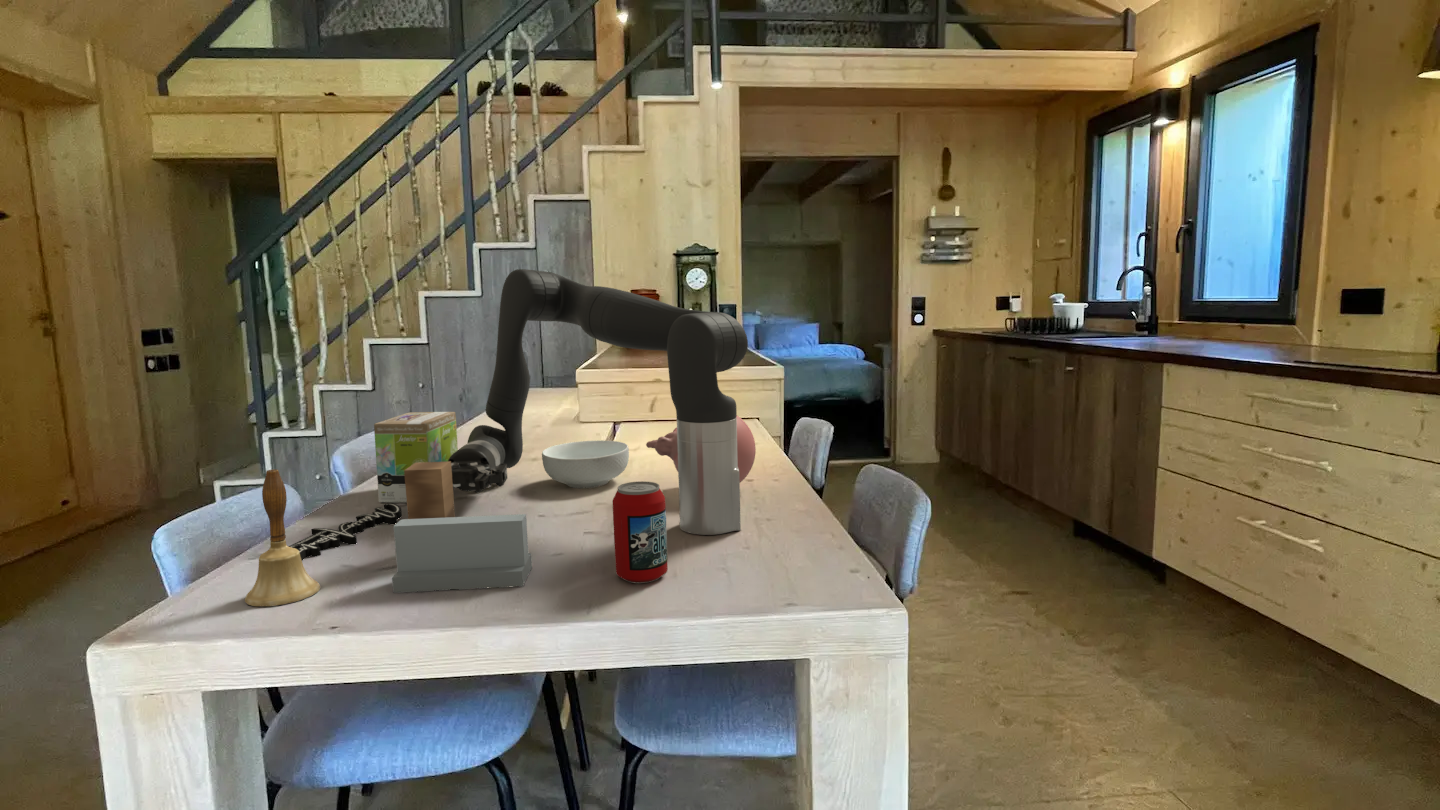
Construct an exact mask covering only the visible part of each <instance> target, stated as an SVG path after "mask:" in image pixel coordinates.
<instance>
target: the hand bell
mask: <svg viewBox="0 0 1440 810" xmlns="http://www.w3.org/2000/svg"><path fill="white" fill-rule="evenodd" d="M261 493H262V496H261V497H262V504H263V508H264V510H265V513H266V516H267V517H268V520H269V536H270V542H269V543H270V544H269V545H270V547H269V549H268V550H266V551H264V552H263V553H261V554H260V555H259V557H258V569H257V570H258V572H257V577H256V579H255V583H254V585H253V586H252V588H251V590H249V591H248V592H247V594H246V596H245V598H244V602H245V603H246V604H247V605H249V606H252V607H276V606H282V605H288V604H291V603H296V602H300V601H302V600H305V599H307V598H310V597H312V596H313V595H315V594H317V593H318V592H319V591H320V590H321V585H320V583H319V582H318V581H317V580H316V579H313V578H312V577H311V576H310V575H309V573H308V572H307V571H306V568H305V566H304V563H303V560H301V557H300V552H299V550H297V549H295V548H291V547H289V546H290V545H287V541H286V540H287V538H286V537H287V535H286V529H285V528H286V527H285V522H284V521H285V520H284V519H285V518H284V517H285V513H286V509H287V489H286V486H285V483H284V481H283V480H282V477H281V475H280V472H279V469H275V468H274V469H268V470H266V472H265V477H264V480H263V484H262V491H261Z"/></svg>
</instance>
